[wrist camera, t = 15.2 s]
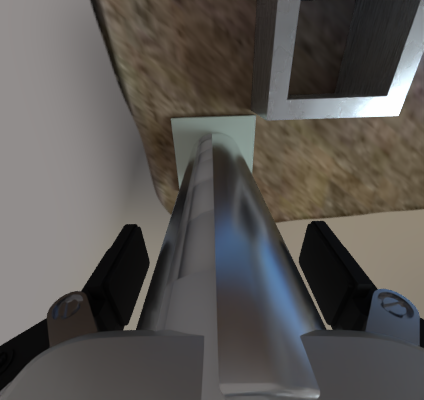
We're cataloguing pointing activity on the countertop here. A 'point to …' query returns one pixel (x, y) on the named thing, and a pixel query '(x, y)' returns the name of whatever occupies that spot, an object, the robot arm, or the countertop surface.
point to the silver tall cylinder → (232, 283)
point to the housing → (351, 63)
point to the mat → (200, 126)
